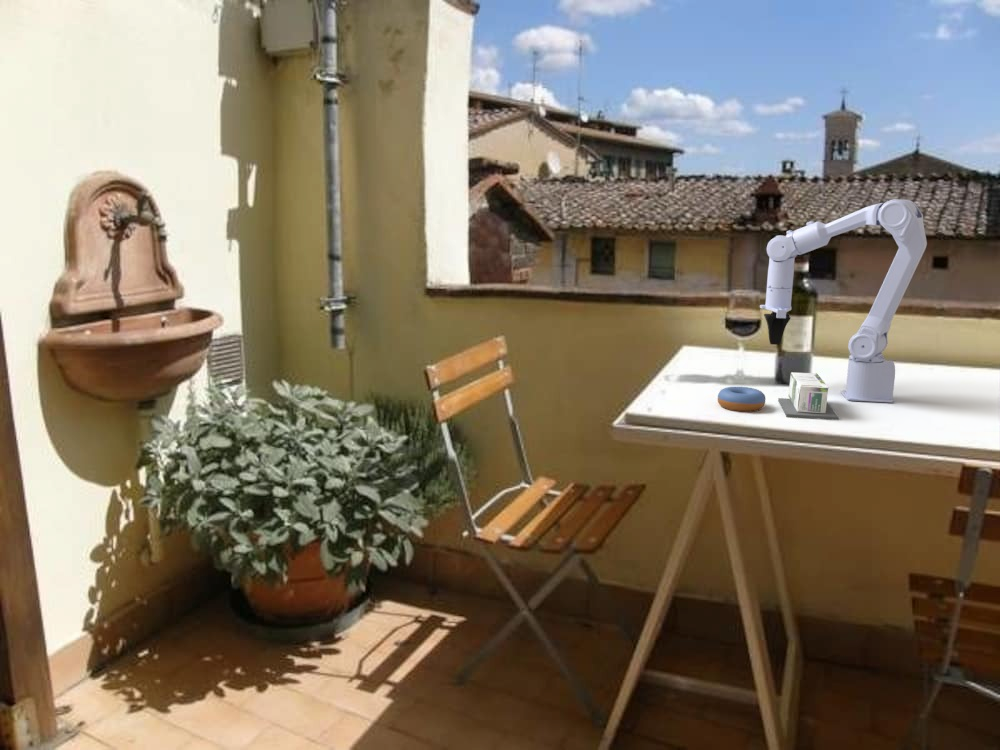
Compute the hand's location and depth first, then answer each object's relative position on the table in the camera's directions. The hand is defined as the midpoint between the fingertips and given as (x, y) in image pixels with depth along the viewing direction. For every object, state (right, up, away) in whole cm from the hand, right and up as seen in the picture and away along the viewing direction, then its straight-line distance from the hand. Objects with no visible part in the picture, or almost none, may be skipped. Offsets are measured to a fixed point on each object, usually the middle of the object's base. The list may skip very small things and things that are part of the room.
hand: (774, 344), depth 188 cm
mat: (0, -15, -20) cm, 25 cm away
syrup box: (+2, -10, -12) cm, 16 cm away
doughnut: (-14, -15, -18) cm, 27 cm away
